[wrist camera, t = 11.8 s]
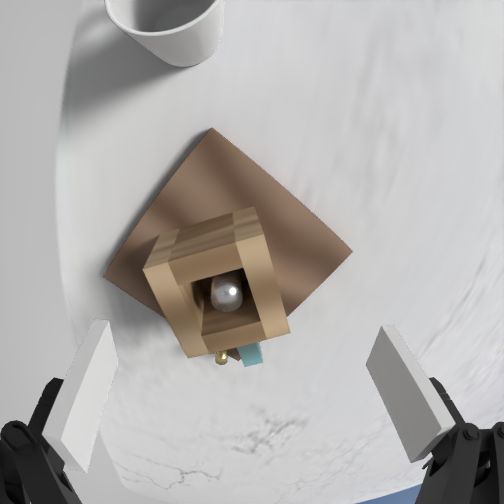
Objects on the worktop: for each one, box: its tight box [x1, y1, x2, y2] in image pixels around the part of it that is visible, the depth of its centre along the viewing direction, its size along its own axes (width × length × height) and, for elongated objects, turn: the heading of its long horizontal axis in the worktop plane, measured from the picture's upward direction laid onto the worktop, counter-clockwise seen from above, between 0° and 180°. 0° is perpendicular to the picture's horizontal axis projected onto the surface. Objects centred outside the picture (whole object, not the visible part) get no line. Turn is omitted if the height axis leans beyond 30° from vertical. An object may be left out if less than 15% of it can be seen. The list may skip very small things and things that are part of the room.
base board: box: [103, 128, 353, 361], centre depth 30 cm, size 18×18×2 cm
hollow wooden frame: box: [143, 206, 290, 367], centre depth 28 cm, size 16×9×7 cm, turn 16°
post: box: [211, 269, 243, 312], centre depth 27 cm, size 2×2×6 cm
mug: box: [104, 0, 225, 67], centre depth 16 cm, size 10×7×12 cm, turn 22°
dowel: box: [215, 350, 227, 365], centre depth 32 cm, size 1×1×4 cm
